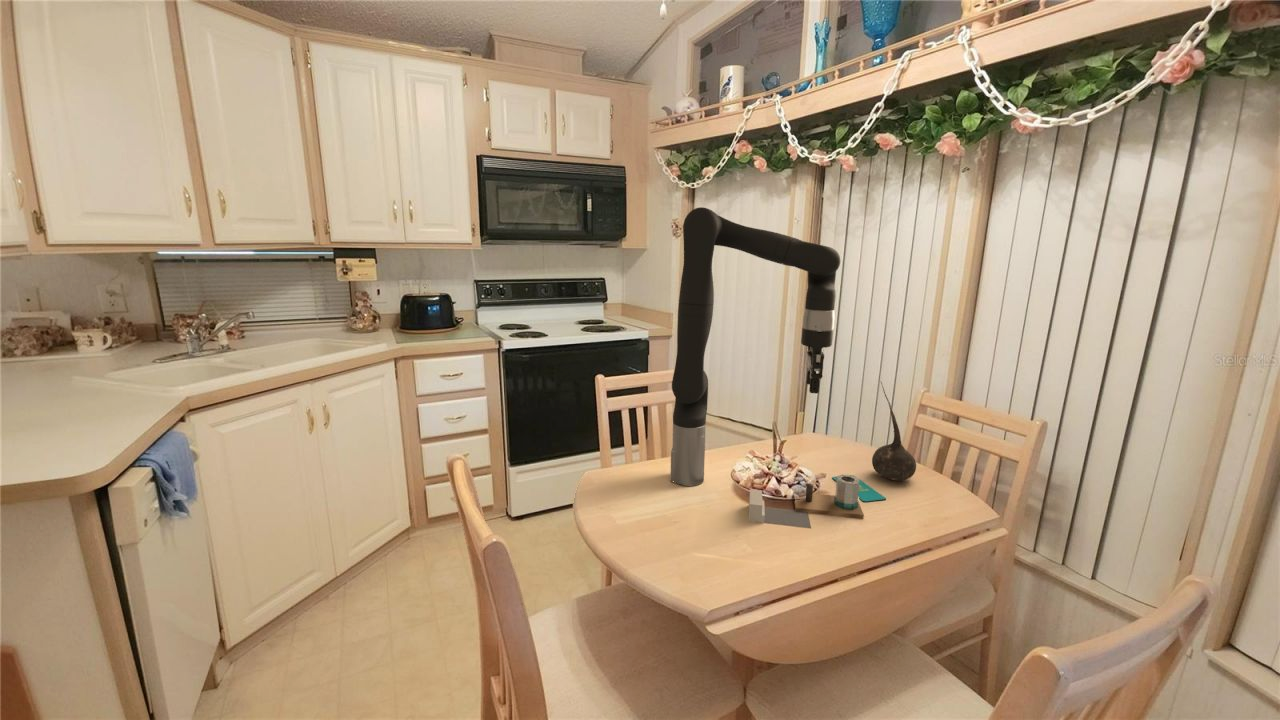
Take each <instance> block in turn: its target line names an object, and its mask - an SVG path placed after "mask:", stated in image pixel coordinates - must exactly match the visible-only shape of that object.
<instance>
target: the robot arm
mask: <svg viewBox="0 0 1280 720" xmlns="http://www.w3.org/2000/svg"><path fill="white" fill-rule="evenodd" d="M682 224H683V226H682V237H683V238H682V239H683V266H682V273H681V278H680V279H681V280H680V287H679V296H678V309H677V332H676V334H677V336H676V337H677V339H676V340H677V341H676V342H677V345H676V346H677V349H676V357H675V358H676V359H675V365H674V370H673V376H672V380H671V391H672V393H673V396H674V397H675V398H674V399H675V402H674V409H673V413H672V446H671V447H672V448H671V450H670V482H671V481H674V482H673V483H675V482H676V483H675V484H677V483H678V484H677V485H679V484H682V485H681V486H683V485H686V486H685V487H693V486H694V487H695V486H698V484H699V485H701V484H703V483H704V481H705V457H706V453H705V451H706V426H707V425H706V424H707V411H708V398H709V379H708V374H707V373H706V371H705V370H704V367H705V366H704V365H705V363H704V362H705V354H706V348H707V344H708V339H709V337H710V332H711V327H712V322H713V316H714V314H713V313H714V303H715V299H714V298H715V291H714V279H713V277H714V276H713V257H714V251H715V246H717V247H725V248H730V249H734V250H738V251H741V252H744V253H747V254H750V255H752V256H754V257H757V258H759V259H763V260H765V261H769V262H772V263H776V264H780V265H783V266H787V267H795V268H797V269H799V270H802V271H805V272H807V289H806V295H805V307H804V313H803V317H802V328H801V337H800V339H801V340H800V343H801V345H803V346H805V347H807V351H806V360H805V361H806V363H805V365H806V370H807V371H806V383H805V384H806V385H809V390H808V391H809V394H819V392H820V381H821V380H822V379H823V377H824V376H823V370H824V359H825V354H824V352H823V349H824V348H825V349H826V348H830V347H832V345H833V339H834V337H833V336H834V328H835V307H836V299H837V298H836V295H837V293H836V292H837V291H836V288H835V287H836V286H835V285H836V275H837V271H838V269H839V268H840V266H841V262H842V261H841V260H842V259H841V255H840V254H839V252H838V251H837V250H836V249H835V248H833V247H830V246H827V245H823V244H818V243H813V242H809V241H808V242H807V241H803V240H801V239H799V238H796V237H793V236H789V235H786V234H781V233H779V232H774V231H771V230H765V229H761V228H755V227H752V226H747V225H746V226H745V225H742V224H740V223H736V222H734V221H731V220H729V219H726V218H725V217H722V216H720V215H719V214H717V213H716V212H715V211H713V210H711V209H709V208H707V207H704V206H702V207H695V208H694V209H692V210H691V211H690V212H689V213H688V214H686V216H685V218H684V220H683V223H682Z"/></svg>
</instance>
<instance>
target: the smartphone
mask: <svg viewBox="0 0 1280 720" xmlns="http://www.w3.org/2000/svg"><path fill="white" fill-rule="evenodd" d="M850 475H851V476H854V477H856V478H858V477H857V476H855V475H852V474H850ZM831 478H832V479H831V480H833V481H834V482H835V483H836V482H837V476H832V477H831ZM858 480H859V492H858V499H859V500H860V501H861V502H862V503H873V502H883V501H886V500H887V498H886V497H885V496H884V495H882V494H881V493H879V492H878V491H877V490H876V489H874V488H872V487H871V486H870V485H868V484H866V483H865V482H863V481H862V480H861V479H860V478H858Z"/></svg>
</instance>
